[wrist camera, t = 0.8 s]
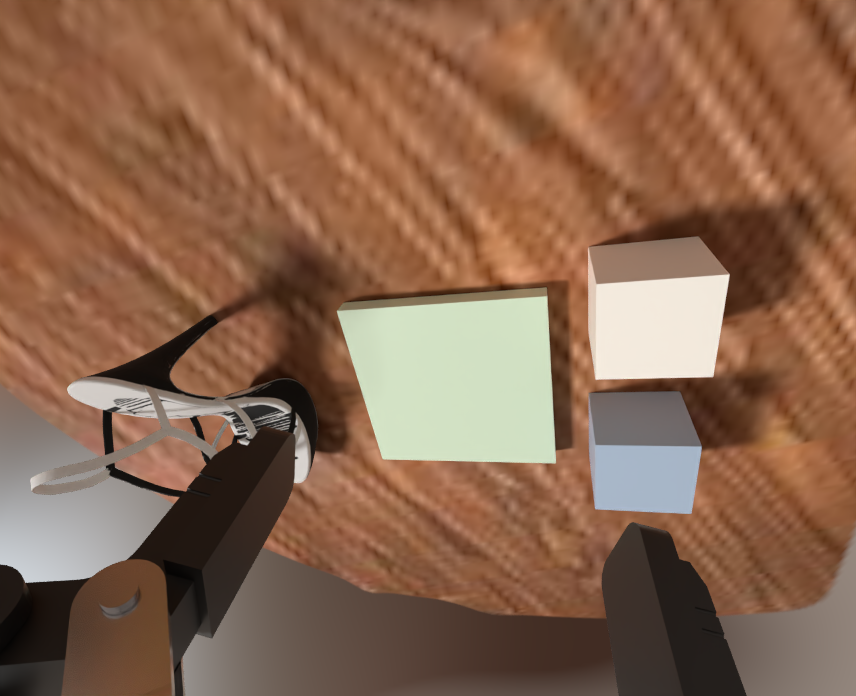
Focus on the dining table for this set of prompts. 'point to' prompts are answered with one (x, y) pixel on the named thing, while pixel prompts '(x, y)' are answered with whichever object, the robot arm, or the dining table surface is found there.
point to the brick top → (642, 452)
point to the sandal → (183, 414)
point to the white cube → (655, 309)
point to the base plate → (456, 375)
